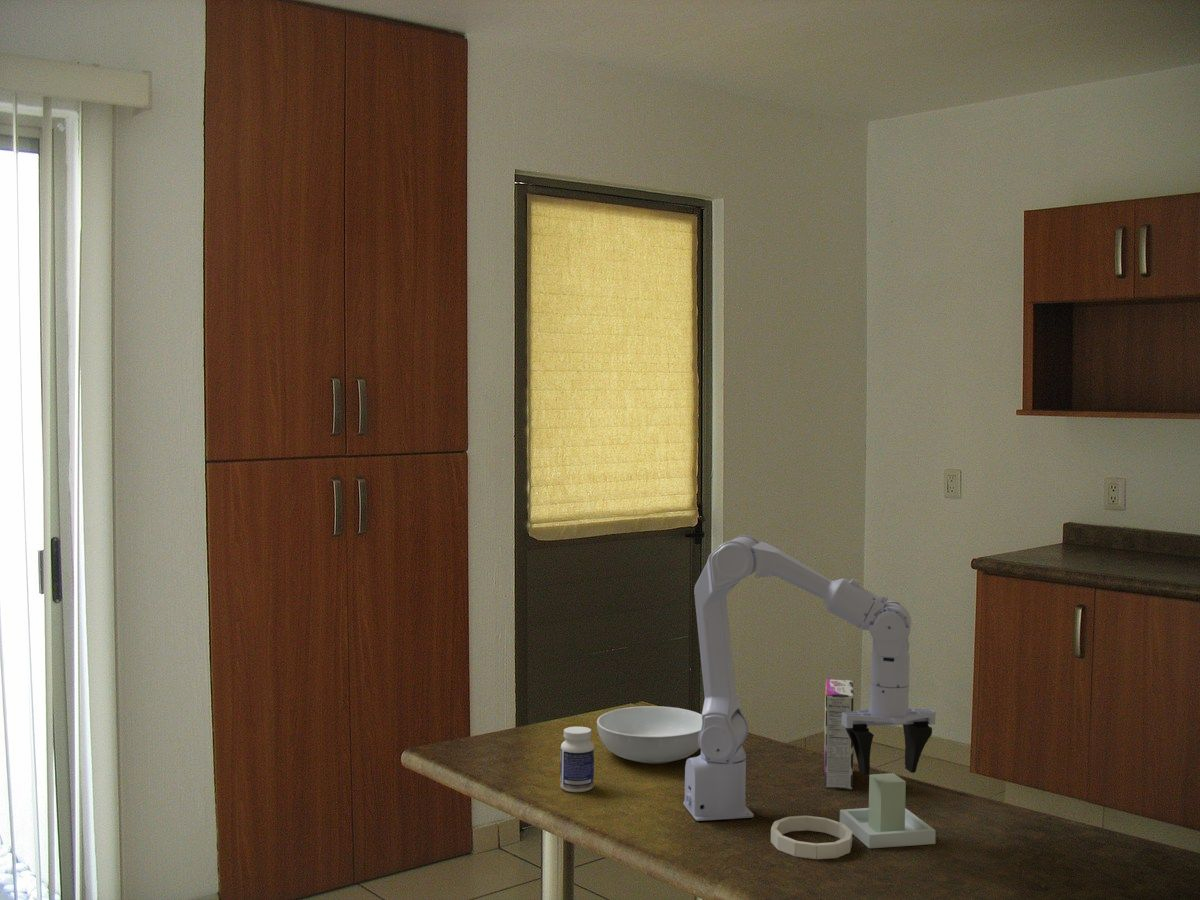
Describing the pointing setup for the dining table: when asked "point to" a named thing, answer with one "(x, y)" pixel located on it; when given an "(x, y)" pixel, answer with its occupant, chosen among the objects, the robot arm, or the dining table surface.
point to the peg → (886, 802)
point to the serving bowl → (650, 733)
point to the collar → (809, 848)
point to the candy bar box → (838, 735)
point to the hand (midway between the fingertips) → (887, 771)
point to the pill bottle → (577, 760)
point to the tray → (912, 835)
